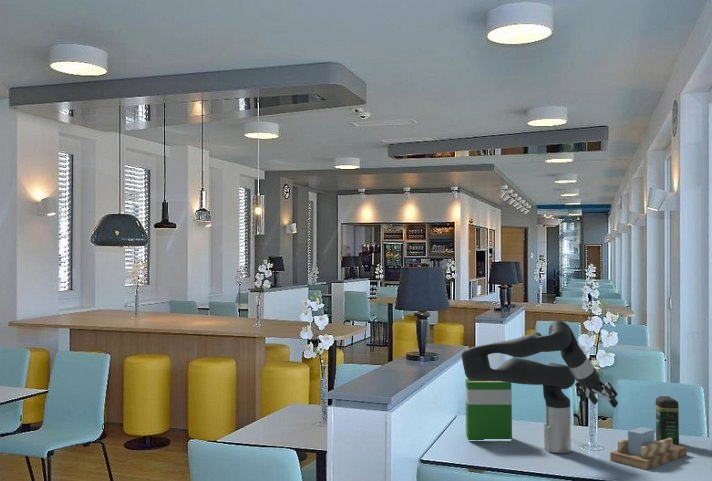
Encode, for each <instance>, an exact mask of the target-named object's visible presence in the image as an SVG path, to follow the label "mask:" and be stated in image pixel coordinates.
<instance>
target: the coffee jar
mask: <svg viewBox="0 0 712 481" xmlns="http://www.w3.org/2000/svg"><path fill="white" fill-rule="evenodd" d="M679 408H680V405H679V402H678V400H676V399H674V398H673V397H671V396H667V395H666V396H664V395H659V396H658V397H656V398H655V440H656V441H661V440H664V439H667V438H672V443H673V444H674V445H678V446H680V427H679V426H680V424H679V419H680V416H679V413H680V412H679V410H680V409H679Z"/></svg>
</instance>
